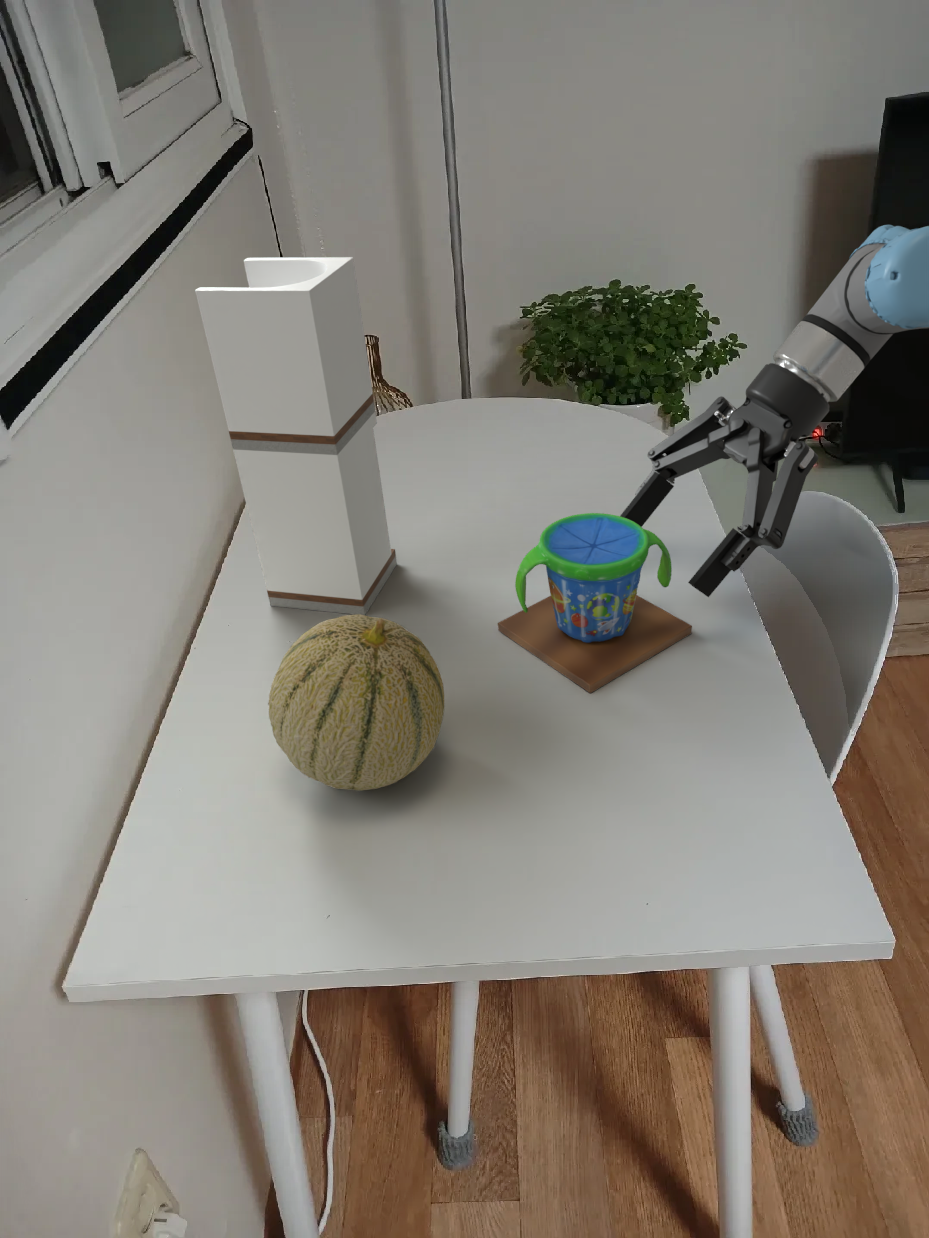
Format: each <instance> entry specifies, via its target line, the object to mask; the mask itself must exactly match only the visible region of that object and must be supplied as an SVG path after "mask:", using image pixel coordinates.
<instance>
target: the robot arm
mask: <svg viewBox="0 0 929 1238" xmlns="http://www.w3.org/2000/svg"><path fill="white" fill-rule="evenodd" d="M919 329H921V330H922V329H929V225H927V226H923V227H920V228H919V227H915V228H912V229H909V228H907V227H903V226H901V225H892V224H884V225H881V226H878V227H876V228H875V229H874V230H873V231H872V232H871V233H870V234H869V236H867V238H866V239H865V240H864V241H863V242H862V243H861V244H860V246H859V247H857V248H856V249H854V250H853V252H852V253H851V254H850V255H849V259H848V261H847V262H846V263H845V265H844V266H843V267H842V268H841V270H840V271H839V272H838V273H837V274H836V276H835V277H834V278H833V280H832V281H831V283H830V284H828V287H826V289H825V290H824V292H823V293H822V294H821V296H820V297H819V298H818V299H817V301H816V302H815V303H814V305H812V307H811V308H810V310H809V311H808V313H807V314H805V315H804V317H803V318H802V319H801V320H800V321H799V322H798V324H797V325H796V326H795V327H794V328H793V330H792V331H791V332H790V333H789V334H788V336H787V337H786V339H784V341H783V342H782V343H781V344H780V346H779V347H778V348H777V350H776V351H774V353H773V355H772V357H773V361H774V363H773V362H770V363H767V364H764V366H763V367H762V368H761V370H760V371H759V373H758V374H757V375H756V376H755V377H754V379H752V381H751V383H750V384H749V385H747V388H746V389H745V399H744V400H745V401H744V402H743V403H742V404H741V405H740V406H739V407H738V408H736V407H735V406H734V405H733V404H732V403H731V402H730V401H729V400H728V399H726V398H725V396H722V395H721V396H718V397H717V398H716V399H715V400H714V401H713V402H712V403H711V404H710V406H709V407H708V408H707V409H705V411H703V413H700V415H698V416H697V417H695V418H694V419H693V420H691V421H689V422H688V423H687V424H685V425H684V426H682V427H681V428H680V429H678V430H676V431H675V432H674V433H673V434H671V435H670V436H668V437H667V438H665V439H664V440H662V441H661V442H660V443H658V444H657V445H655V446H654V447H652V448H651V449H650V450H649V451H648V452H647V458H648V459H649V460H650V461H651V465H652V470H651V472H650V473H649V474H648V475H647V477H646V478H645V479H644V480H643V482H642V483H641V484H640V486H639V487H638V488H637V489H636V491H635V494H634V495H635V497H633V499H631V501H630V502H629V504H628V505H627V506H626V508H625V509H624V510H623V512H622V513H621V514H620V515H619V516H620V517H624V518H627V519H629V520H631V521H633V522H635V523H636V524H638V525H639V526H641V527H642V528H643V526H644V525H645V523H647V521H648V520H649V519H650V517H651V516H652V515H653V514H654V512H655V511H656V510H657V508H658V507H659V506H660V504H661V503H662V502H663V501H664V500H665V499H666V497H667V496H668V495H669V493H671V492H672V490H673V489H674V487H675V485H673V484H676V483H675V481H676V480H675V479H677V478H679V477H681V476H684V475H686V474H689V473H691V472H693V471H695V470H698V469H700V468H703V467H705V466H707V465H710V464H711V463H714V462H717V461H719V460H729V459H732V460H733V461H734V462H735V463H737V464H740V465H742V466H744V467H745V468H746V470H747V473H748V475H747V481H746V482H747V483H746V489H745V490H746V491H745V498H744V505H743V515H742V521H741V525H739V526H737V527H736V529H735V528H734V527H733V528H731V530H730V531H729V532H728V533H727V535H725V537H724V538H723V539H722V541H721V542H720V543H719V544H718V545H717V547H715V549H714V550H713V552H711V554H710V555H709V556H708V557H707V559H706V560H705V561H704V563H703V564H702V565H701V566H700V567H699V568H698V570H697V571H696V572H695V573H694V574H693V575H692V577H691V578H690V579H689V580H688V581H687V583H688V584H689V585H690V586H692V587H693V588H694V589H696V590H697V591H699V592H700V593H702V594H703V595H704V596H706V597H707V598H710V597H711V596H712V594H713V593H714V592H715V590H716V589H717V588H718V587H719V586H720V585H721V583H722V582H723V581H724V580H725V579H726V577H727V576H728V575H729V573H731V572H733V573H736V571H737V570H739V569H740V568H742V565H743V564H744V563H745V562H746V560H747V559H749V557H750V556H752V553H753V552H754V551H755V550H756V549H757V548H758V547H760V546H766V547H771V548H772V549H775V550H778V549H781V548H782V546H783V545H784V543H785V540H786V537H787V534H788V531H789V528H790V526H791V522H792V519H793V516H794V513H795V512H796V511H795V510H796V507H797V504H798V502H799V499H800V496H801V493H802V490H803V487H804V484H805V481H806V478H807V476H808V475H809V474H810V472H811V471H812V469H813V467H815V465H816V463H817V462H818V460H819V455H818V454H817V453H816V451H814V450H813V449H812V448H811V447H810V446H809V445H808V444H807V443H806V442H805V441H804V440H800V438H807V437H809V436H810V435H811V434H812V433H813V431H814V430H816V428H817V427H818V425H819V424H820V423H821V422H822V421H823V419H824V418H825V417H826V416H827V415H828V414H829V412H830V404H829V402H830V403H832V402H833V403H834V402H838V401H839V399H840V398H841V397H842V396H843V394H844V393H845V392H846V391H847V389H848V388H849V387H850V386H851V385H852V384H853V383H854V381H855V380H856V379H857V377H858V376H859V375H860V374H861V373H862V371H864V369H865V368H866V367H867V365H869V363H870V361H872V359H873V358H874V357H875V355H877V353H878V352H879V351H880V350H881V349H882V347H884V345H885V344H886V343H887V342H888V340H889V339H890V338H891V337H892V336H893V335H894V334H897V333H902V332H906V331H911V330H919ZM782 460H783V462H782V464H781V465H780V469H779V472H778V468H779V462H780V461H782Z"/></svg>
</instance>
